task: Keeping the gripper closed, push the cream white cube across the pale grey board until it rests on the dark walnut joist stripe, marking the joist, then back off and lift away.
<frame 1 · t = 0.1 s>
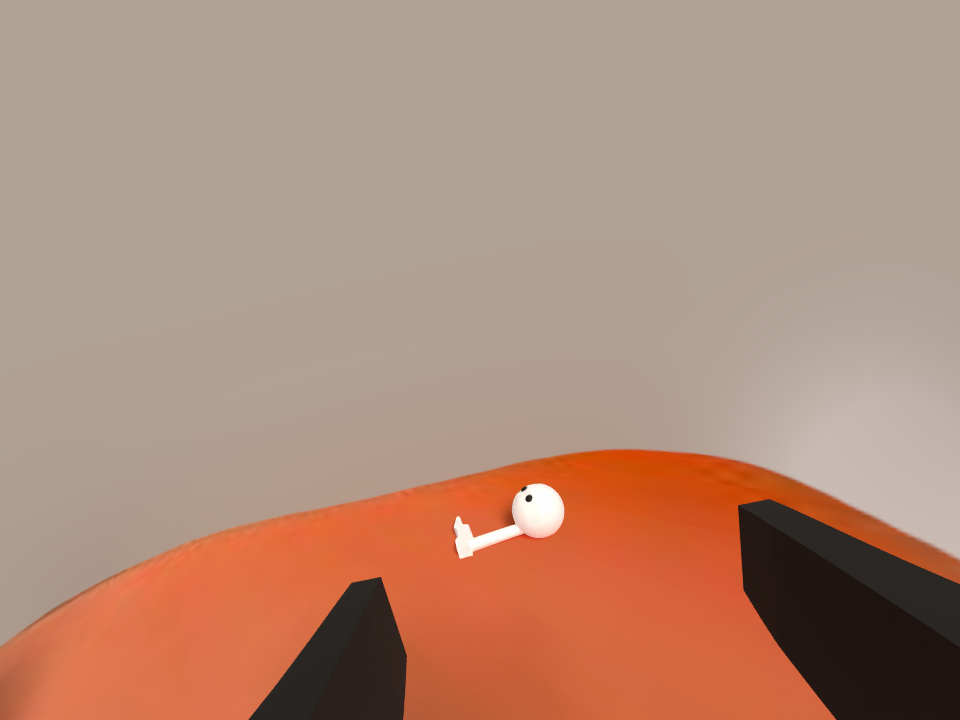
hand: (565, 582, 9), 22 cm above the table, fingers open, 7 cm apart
figurine: (511, 536, 48), on the table
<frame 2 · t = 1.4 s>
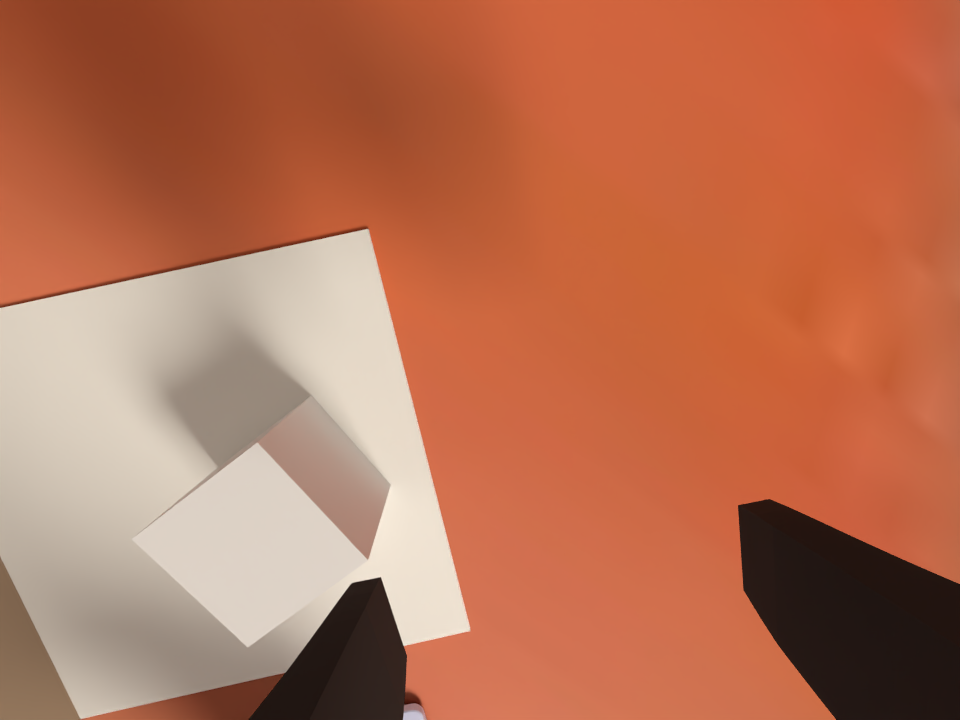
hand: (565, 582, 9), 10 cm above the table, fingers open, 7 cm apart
cream white cube: (307, 473, 19), resting on subfloor board
subfloor board: (92, 522, 18), on the table
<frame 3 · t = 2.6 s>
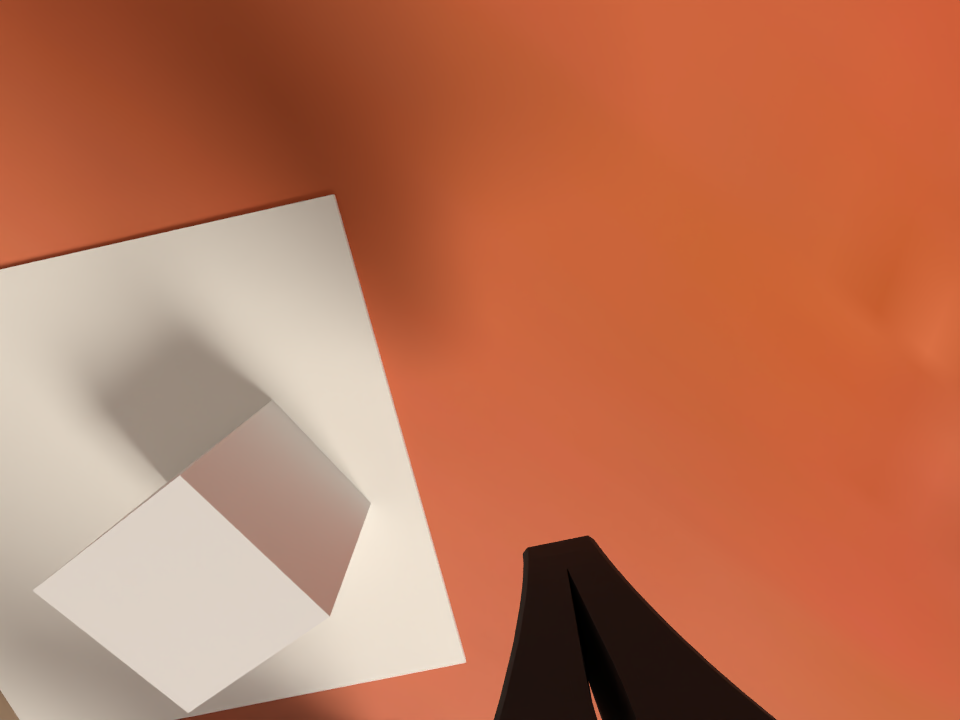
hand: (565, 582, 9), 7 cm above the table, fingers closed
cream white cube: (273, 489, 16), resting on subfloor board
subfloor board: (28, 542, 16), on the table
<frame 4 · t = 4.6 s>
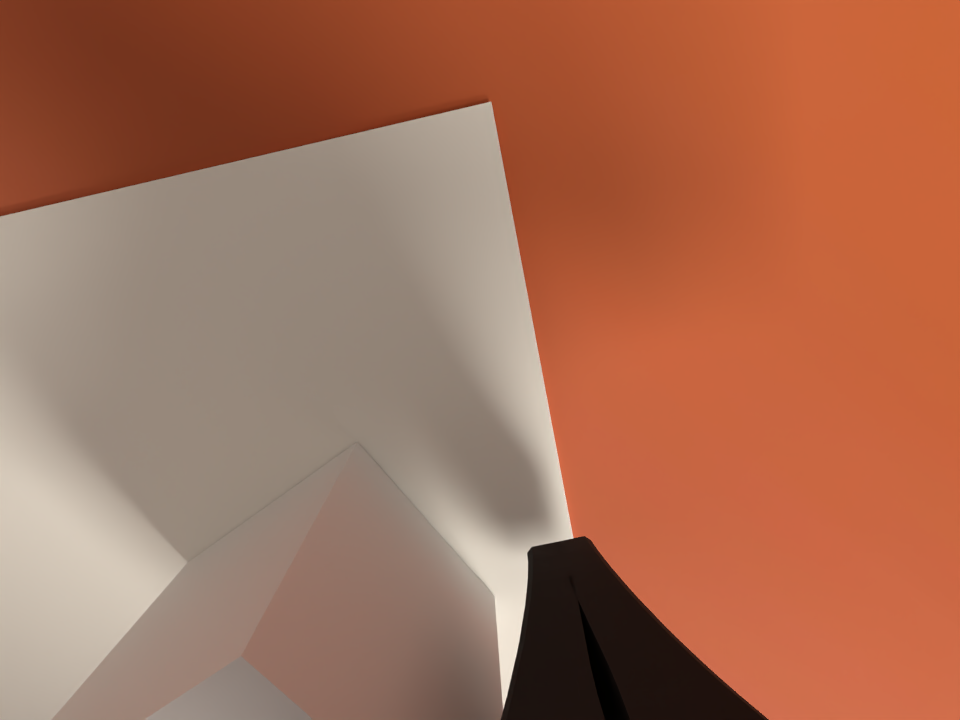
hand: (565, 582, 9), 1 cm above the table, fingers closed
cream white cube: (346, 573, 10), resting on subfloor board, touching gripper
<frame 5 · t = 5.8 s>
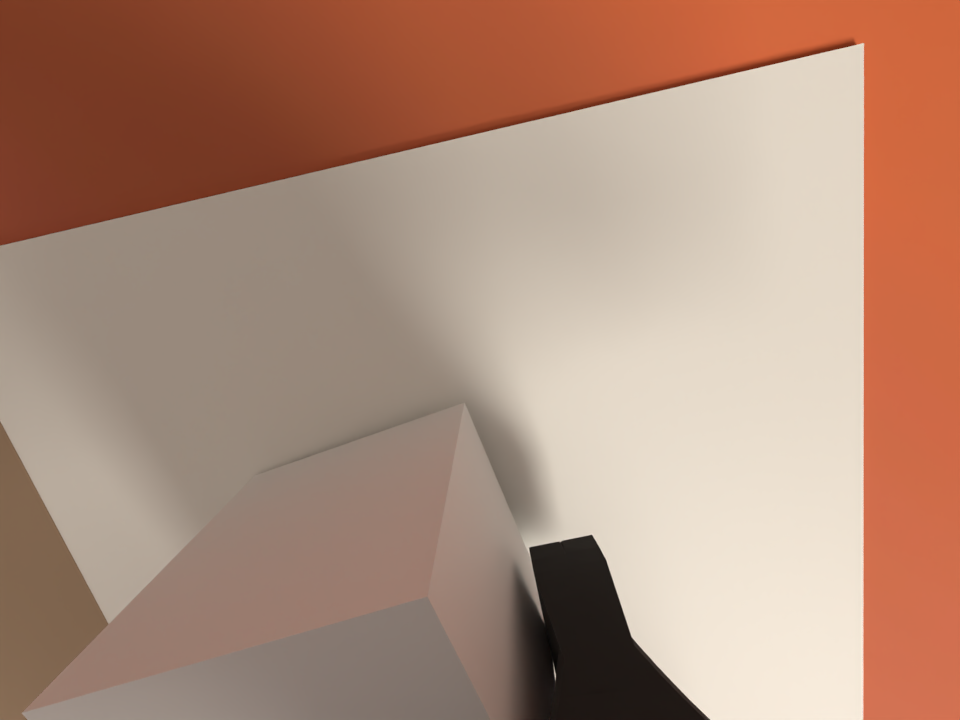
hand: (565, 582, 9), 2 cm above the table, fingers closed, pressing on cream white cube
cream white cube: (405, 528, 10), resting on subfloor board, touching gripper
subfloor board: (277, 601, 11), on the table
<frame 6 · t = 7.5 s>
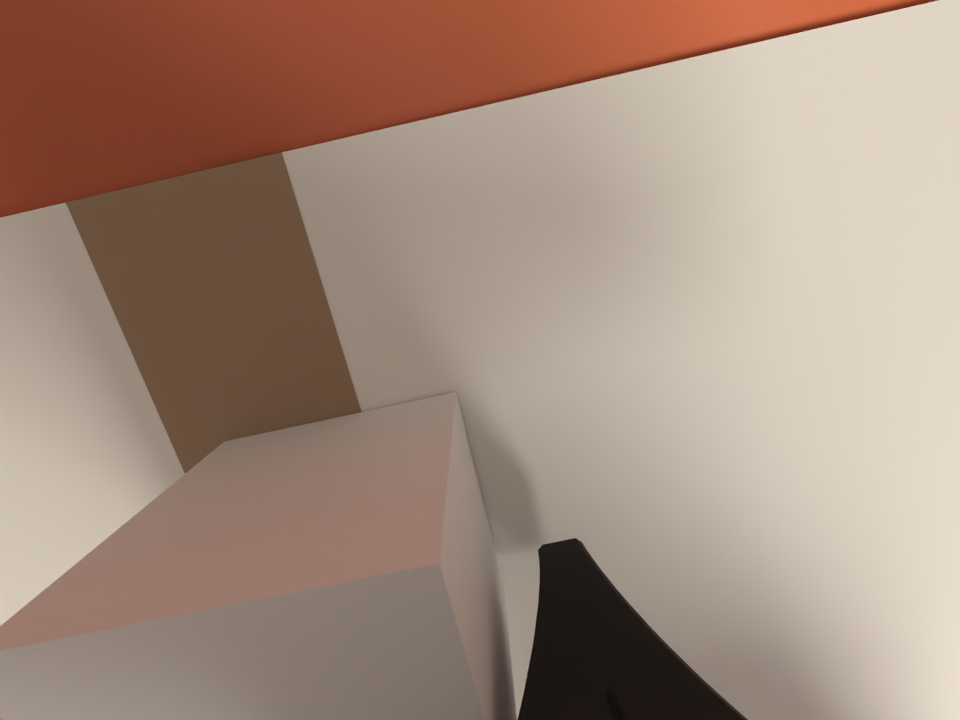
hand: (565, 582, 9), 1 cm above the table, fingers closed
cream white cube: (374, 513, 10), resting on subfloor board, touching gripper
subfloor board: (579, 531, 10), on the table
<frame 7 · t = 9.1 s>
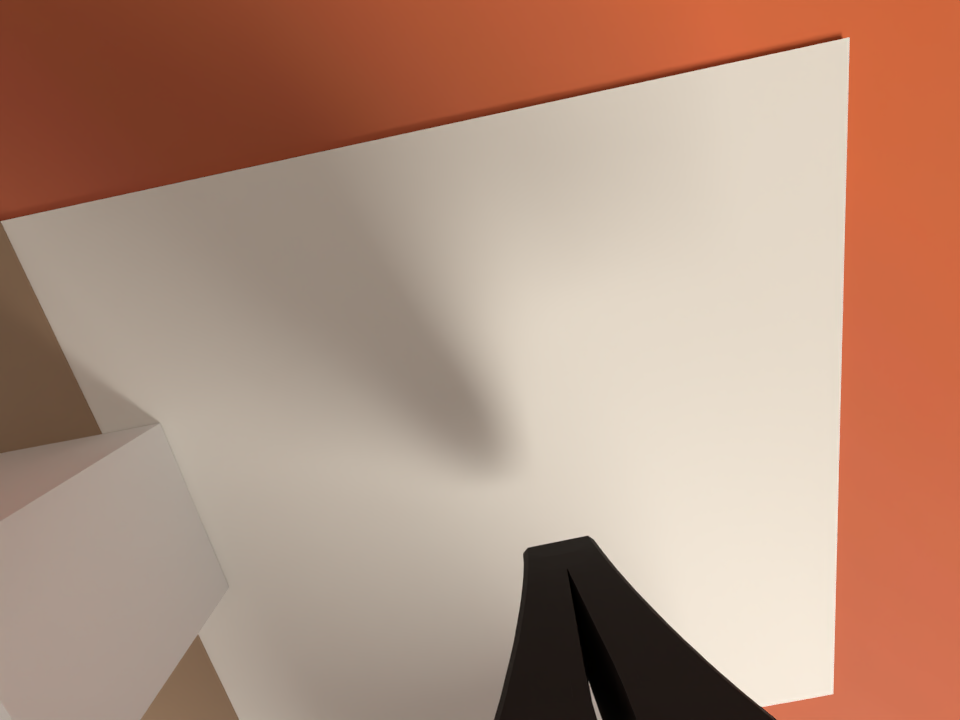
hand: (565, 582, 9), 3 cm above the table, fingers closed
cream white cube: (110, 522, 12), resting on subfloor board
subfloor board: (312, 536, 12), on the table
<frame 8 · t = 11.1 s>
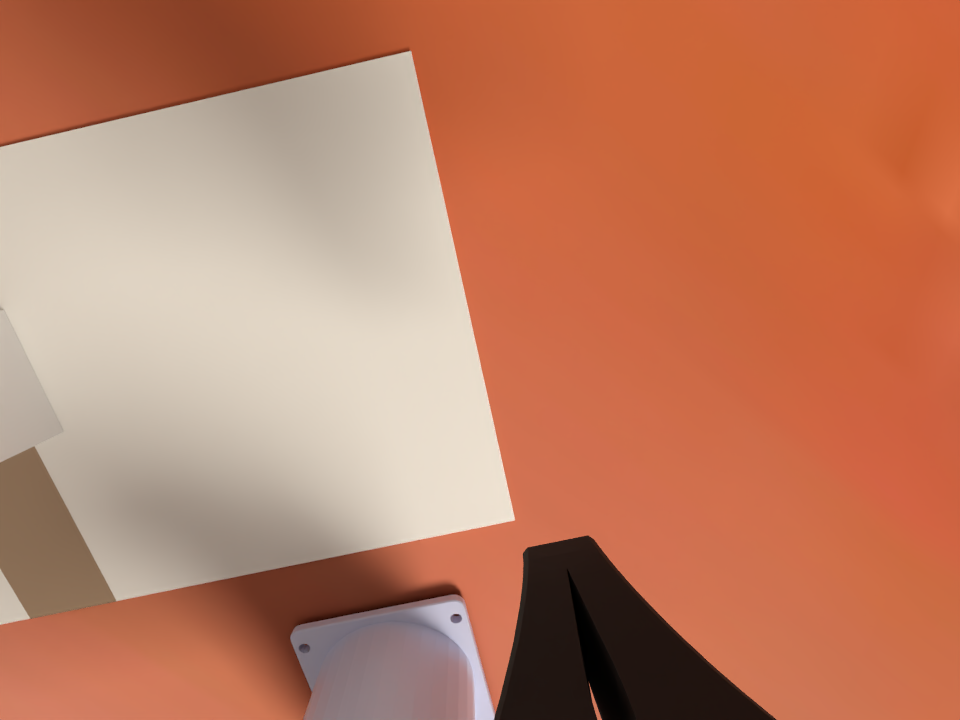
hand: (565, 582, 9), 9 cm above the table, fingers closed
subfloor board: (118, 394, 17), on the table
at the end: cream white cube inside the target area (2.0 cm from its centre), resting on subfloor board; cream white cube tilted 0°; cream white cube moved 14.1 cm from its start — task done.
